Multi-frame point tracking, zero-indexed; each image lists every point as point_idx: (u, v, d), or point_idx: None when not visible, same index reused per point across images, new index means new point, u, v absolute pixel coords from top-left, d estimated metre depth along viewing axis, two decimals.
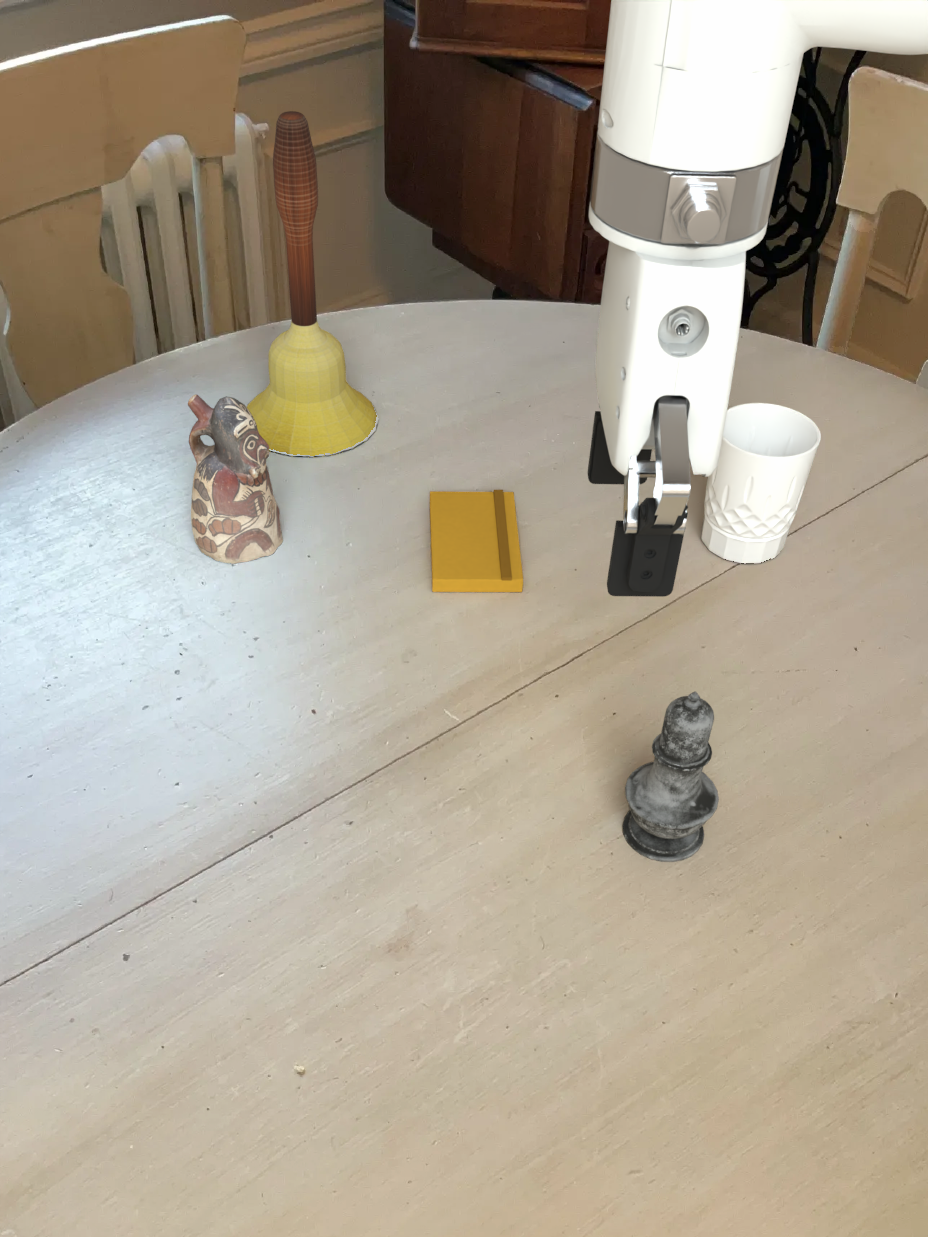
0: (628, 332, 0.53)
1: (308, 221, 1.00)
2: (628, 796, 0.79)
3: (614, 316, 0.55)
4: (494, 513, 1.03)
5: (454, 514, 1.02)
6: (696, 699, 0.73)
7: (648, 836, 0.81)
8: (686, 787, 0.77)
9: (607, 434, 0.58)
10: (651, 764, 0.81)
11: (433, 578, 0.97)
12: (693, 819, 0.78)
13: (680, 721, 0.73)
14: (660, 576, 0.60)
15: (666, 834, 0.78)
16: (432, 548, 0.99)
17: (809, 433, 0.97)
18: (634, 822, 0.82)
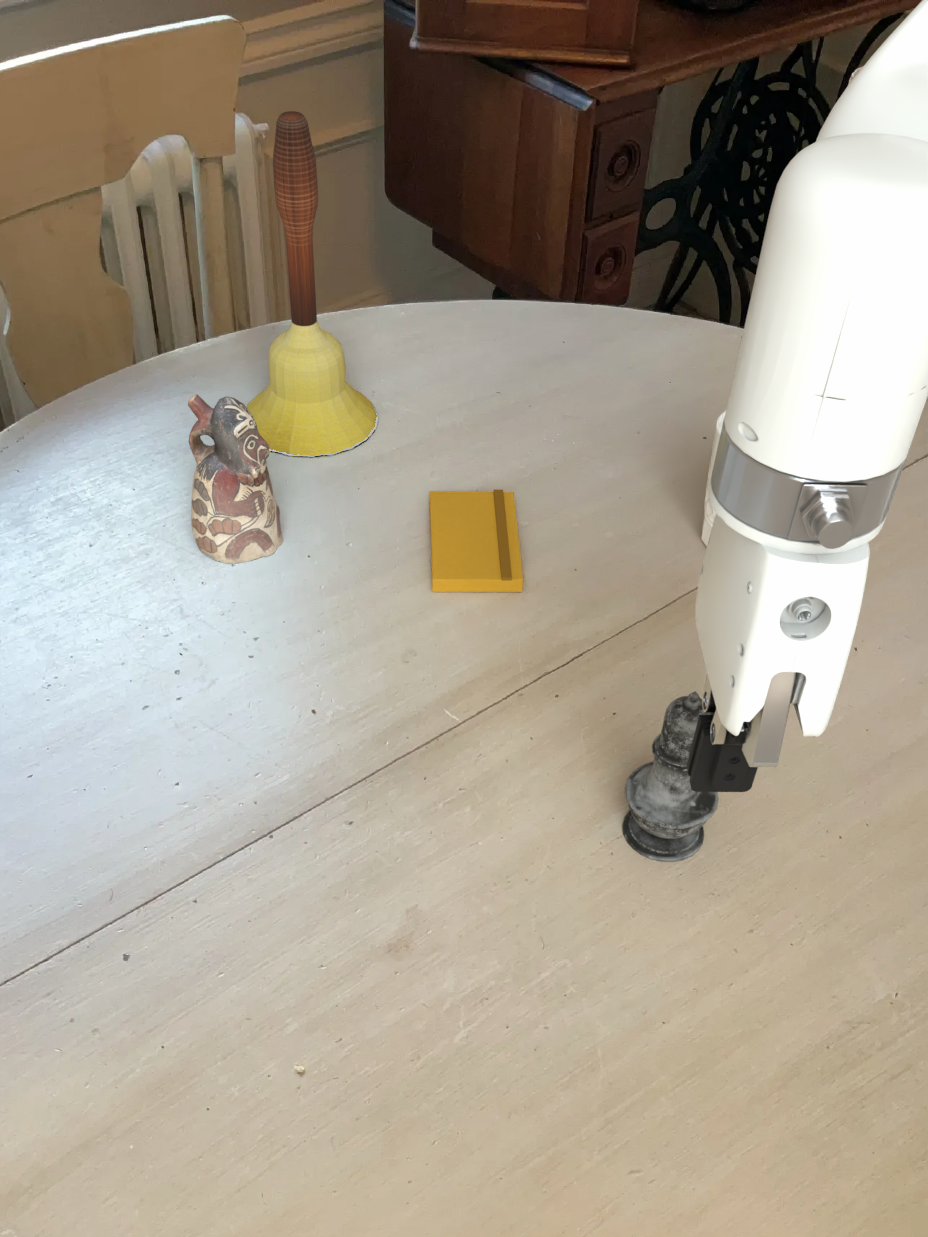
0: (749, 614, 0.53)
1: (308, 221, 1.00)
2: (628, 796, 0.79)
3: (731, 590, 0.55)
4: (494, 513, 1.03)
5: (454, 514, 1.02)
6: (696, 699, 0.73)
7: (648, 836, 0.81)
8: (686, 787, 0.77)
9: (715, 690, 0.59)
10: (651, 764, 0.81)
11: (433, 578, 0.97)
12: (693, 819, 0.78)
13: (680, 721, 0.73)
14: (742, 778, 0.64)
15: (666, 834, 0.78)
16: (432, 548, 0.99)
17: None
18: (634, 822, 0.82)
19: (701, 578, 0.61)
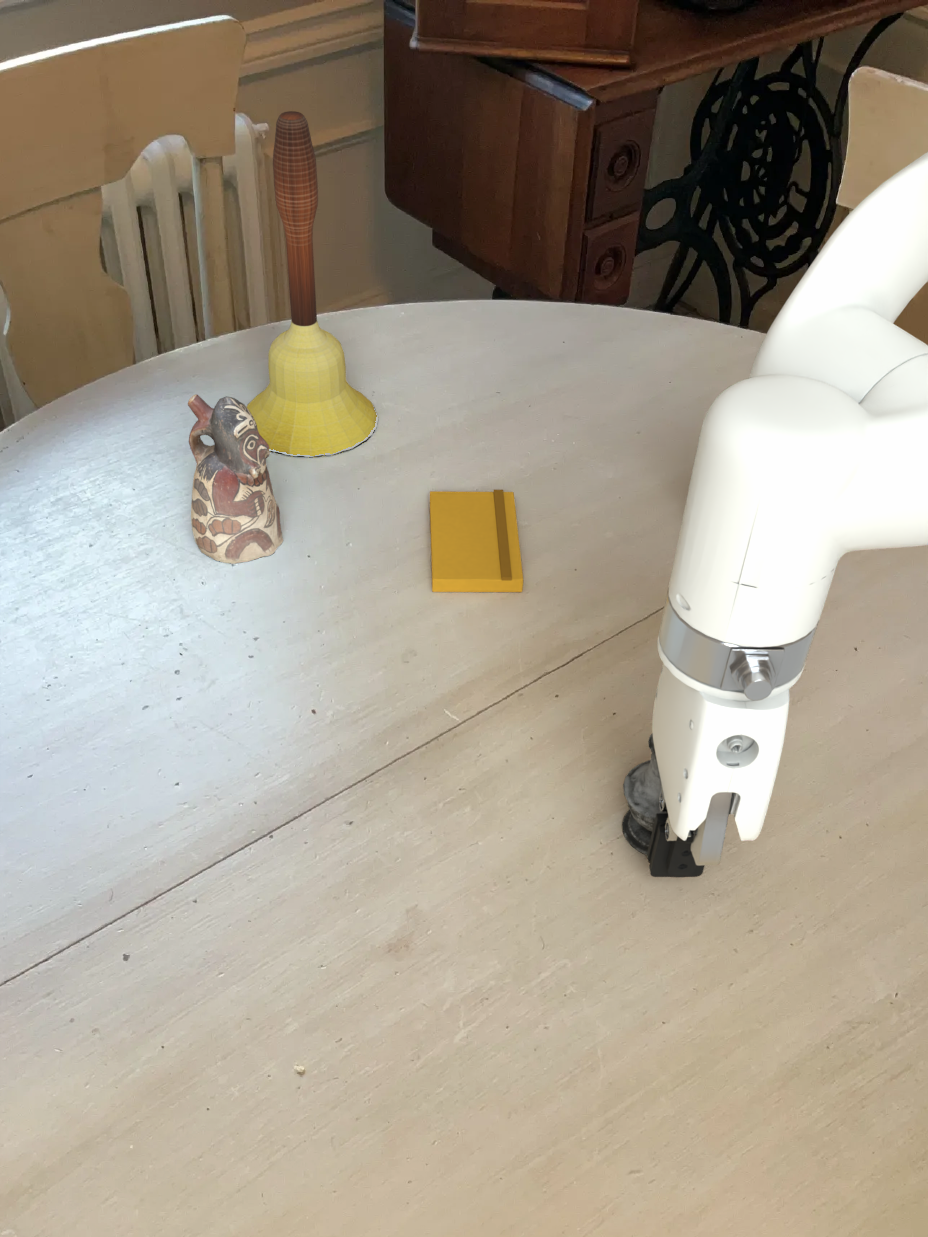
0: (691, 746, 0.64)
1: (308, 221, 1.00)
2: (626, 793, 0.79)
3: (677, 723, 0.66)
4: (494, 513, 1.03)
5: (454, 514, 1.02)
6: None
7: (648, 834, 0.81)
8: None
9: (667, 800, 0.70)
10: (649, 762, 0.81)
11: (433, 578, 0.97)
12: None
13: None
14: (694, 867, 0.75)
15: None
16: (432, 548, 0.99)
17: None
18: (634, 821, 0.82)
19: (656, 700, 0.72)
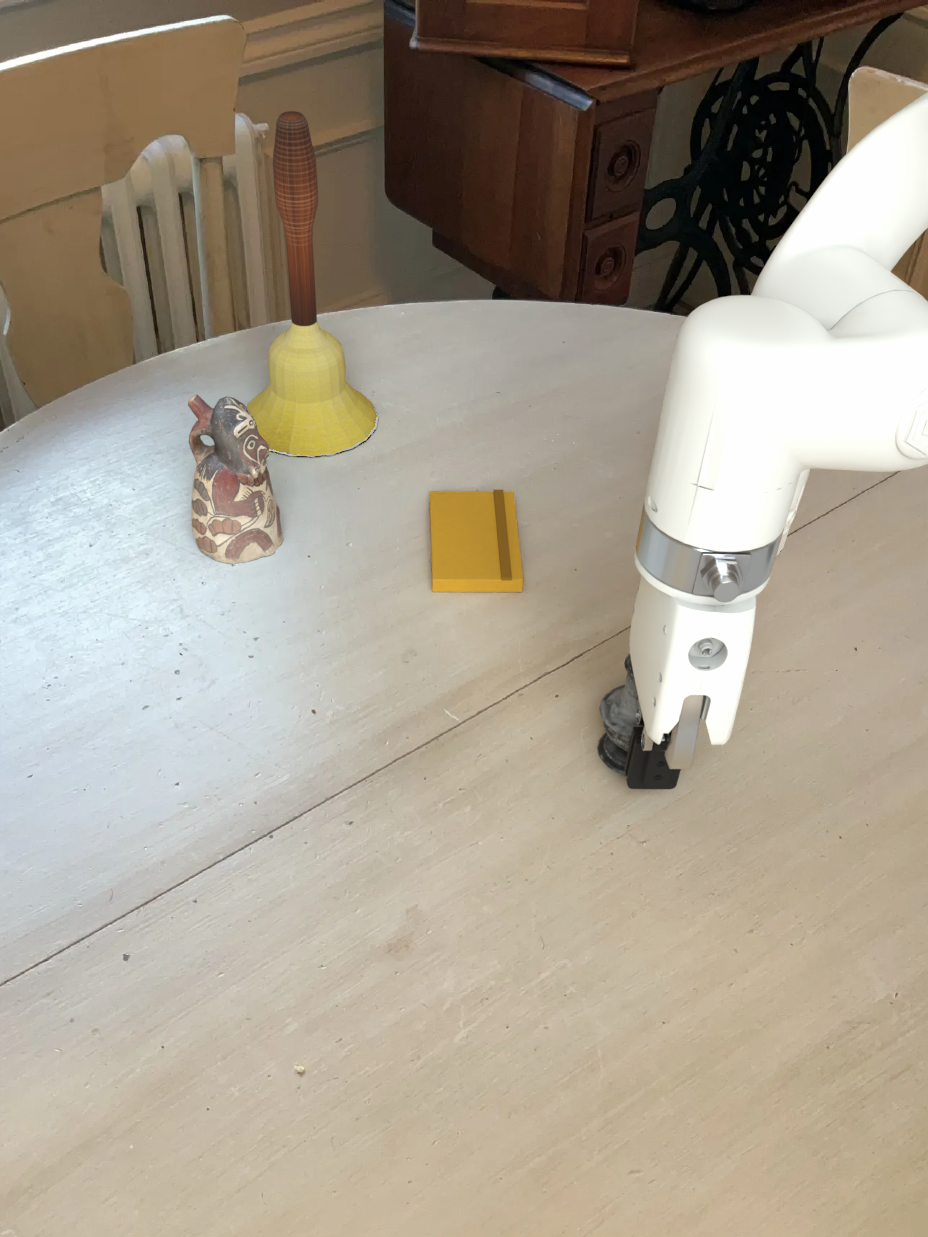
0: (665, 650, 0.69)
1: (308, 221, 1.00)
2: (603, 714, 0.83)
3: (652, 631, 0.70)
4: (494, 513, 1.03)
5: (454, 514, 1.02)
6: None
7: (623, 754, 0.85)
8: None
9: (643, 708, 0.74)
10: (622, 687, 0.85)
11: (433, 578, 0.97)
12: None
13: None
14: (668, 778, 0.80)
15: None
16: (432, 548, 0.99)
17: None
18: (609, 743, 0.86)
19: (633, 618, 0.77)
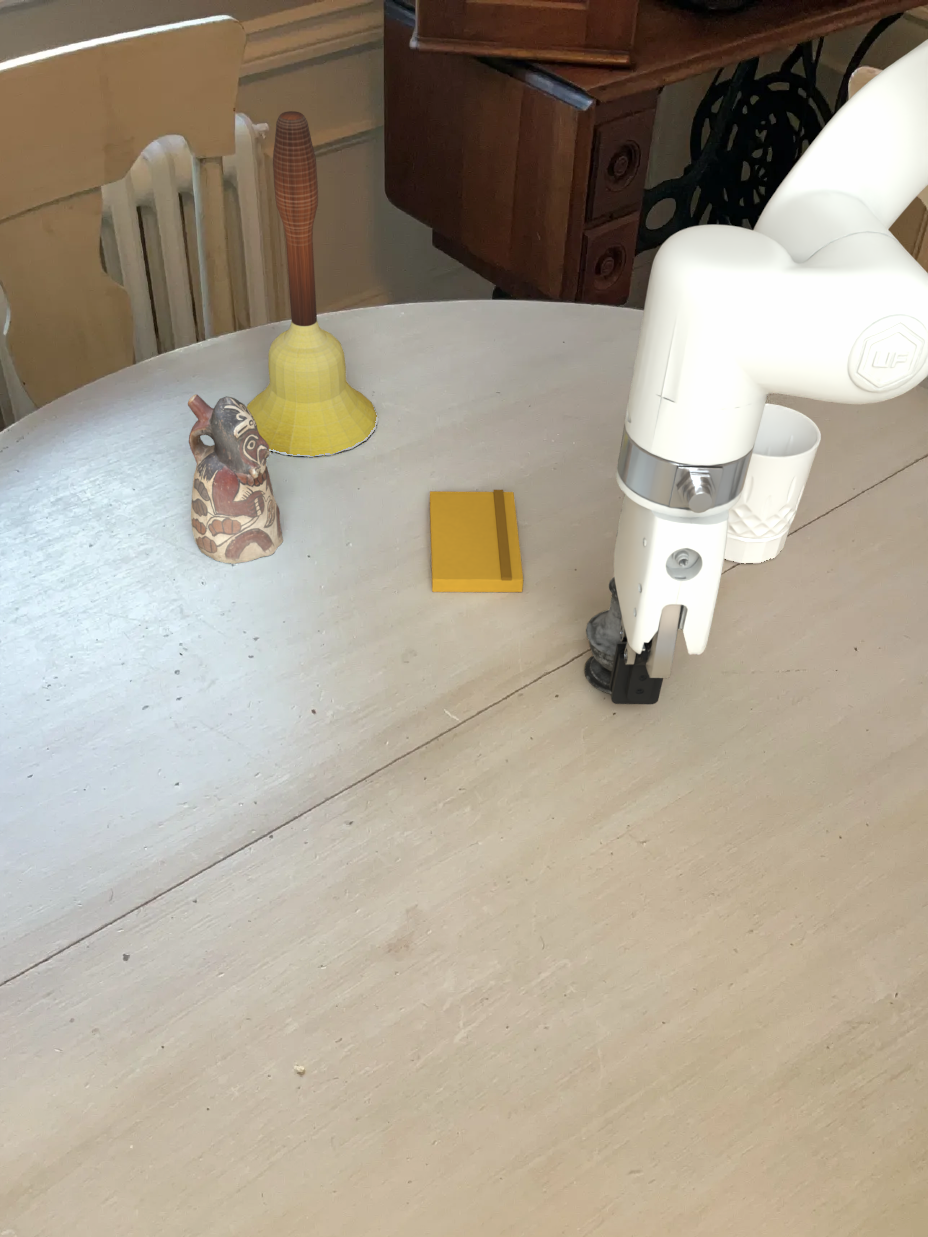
0: (644, 561, 0.74)
1: (308, 221, 1.00)
2: (589, 636, 0.89)
3: (633, 545, 0.76)
4: (494, 513, 1.03)
5: (454, 514, 1.02)
6: None
7: (608, 675, 0.91)
8: None
9: (625, 621, 0.80)
10: (608, 611, 0.91)
11: (433, 578, 0.97)
12: None
13: None
14: (650, 692, 0.85)
15: None
16: (432, 548, 0.99)
17: (809, 433, 0.97)
18: (595, 665, 0.91)
19: (616, 539, 0.82)
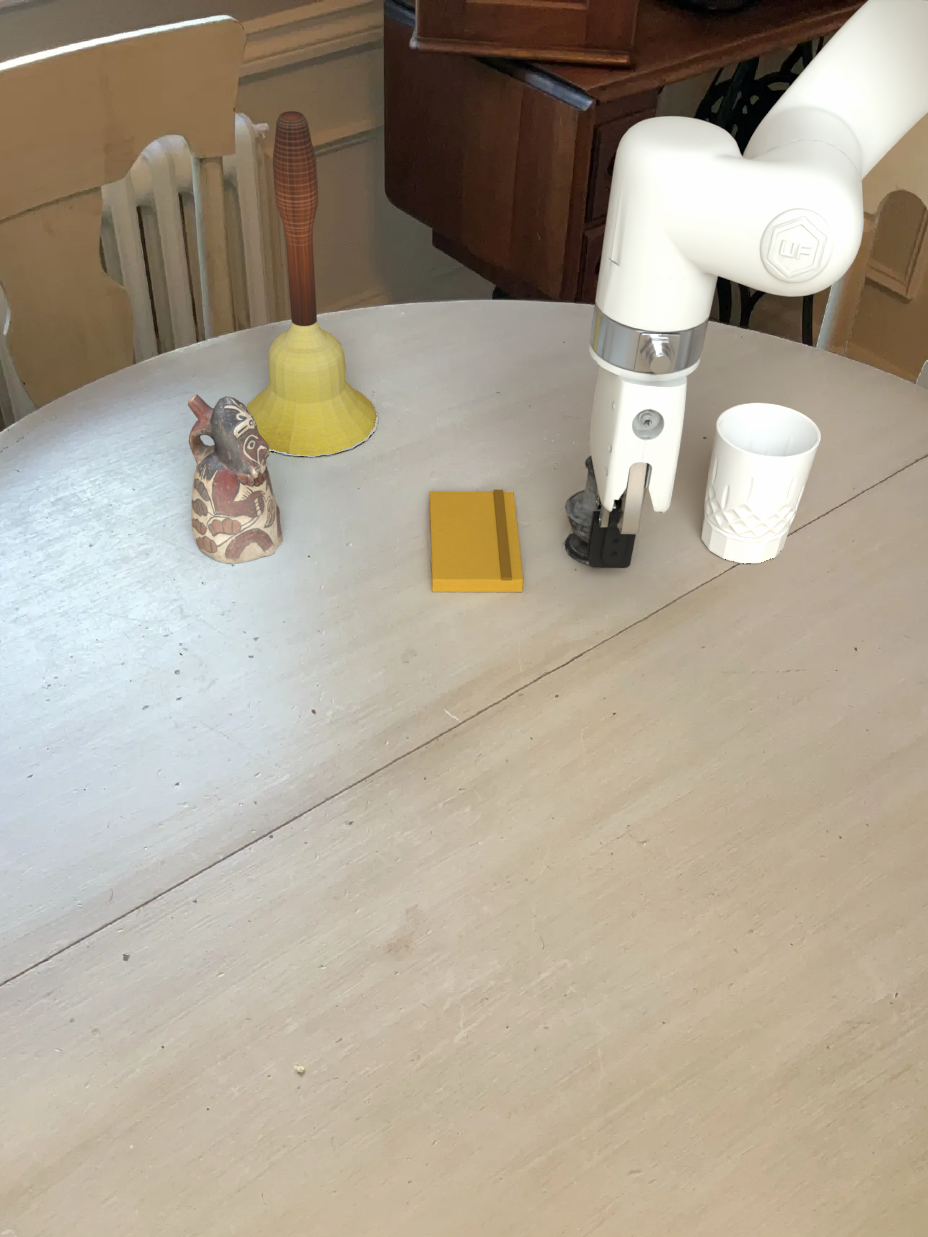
0: (613, 423, 0.84)
1: (308, 221, 1.00)
2: (568, 510, 0.99)
3: (604, 411, 0.86)
4: (494, 513, 1.03)
5: (454, 514, 1.02)
6: None
7: (585, 548, 1.01)
8: None
9: (598, 484, 0.90)
10: None
11: (433, 578, 0.97)
12: None
13: None
14: (622, 555, 0.95)
15: None
16: (432, 548, 0.99)
17: (809, 433, 0.97)
18: (574, 540, 1.02)
19: (592, 414, 0.92)
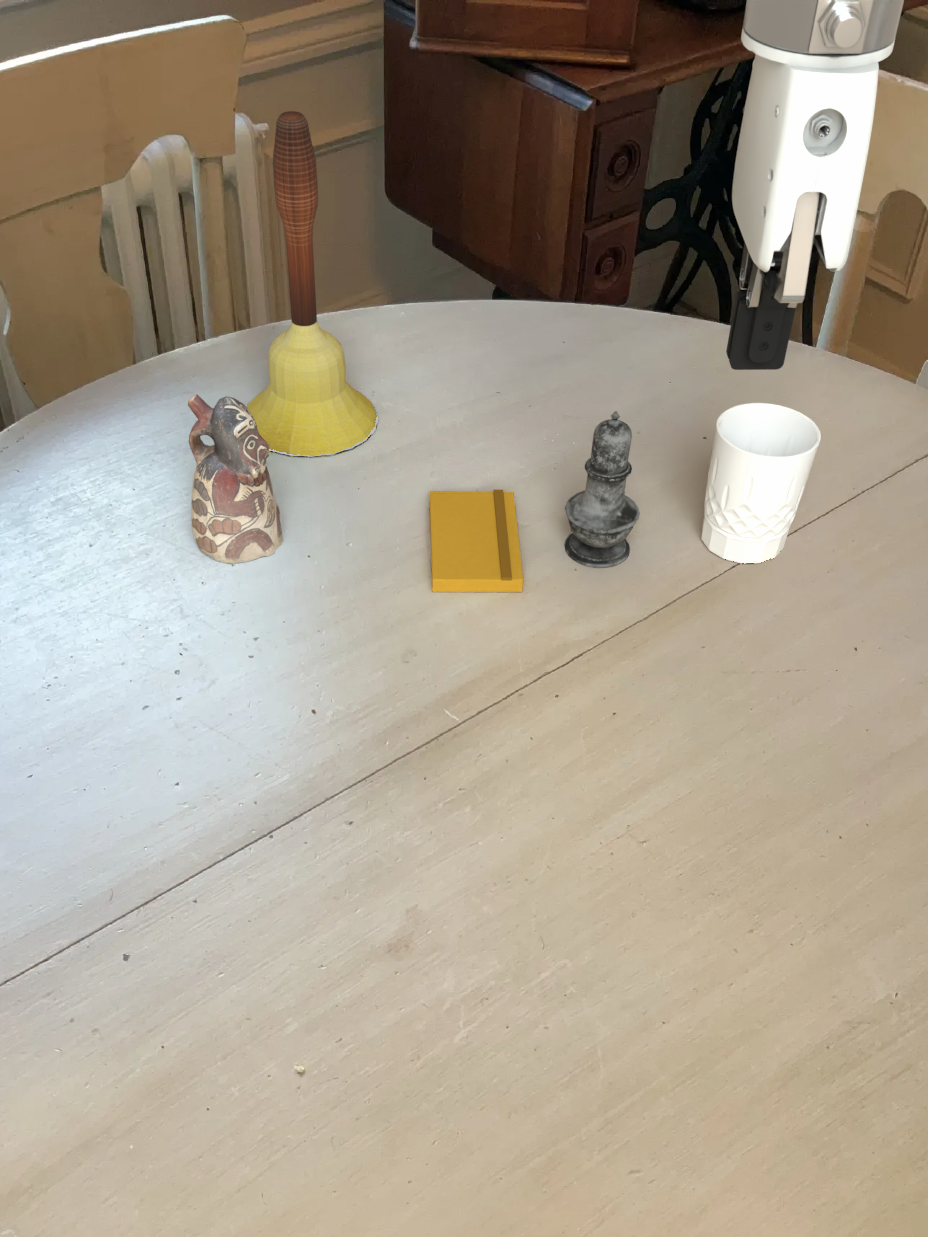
0: (777, 136, 0.63)
1: (308, 221, 1.00)
2: (568, 512, 0.99)
3: (761, 128, 0.65)
4: (494, 513, 1.03)
5: (454, 514, 1.02)
6: (617, 417, 0.93)
7: (585, 549, 1.01)
8: (613, 498, 0.97)
9: (750, 239, 0.69)
10: None
11: (433, 578, 0.97)
12: (620, 526, 0.98)
13: (605, 435, 0.93)
14: (775, 348, 0.74)
15: (599, 540, 0.98)
16: (432, 548, 0.99)
17: (809, 433, 0.97)
18: (574, 541, 1.02)
19: (736, 158, 0.71)
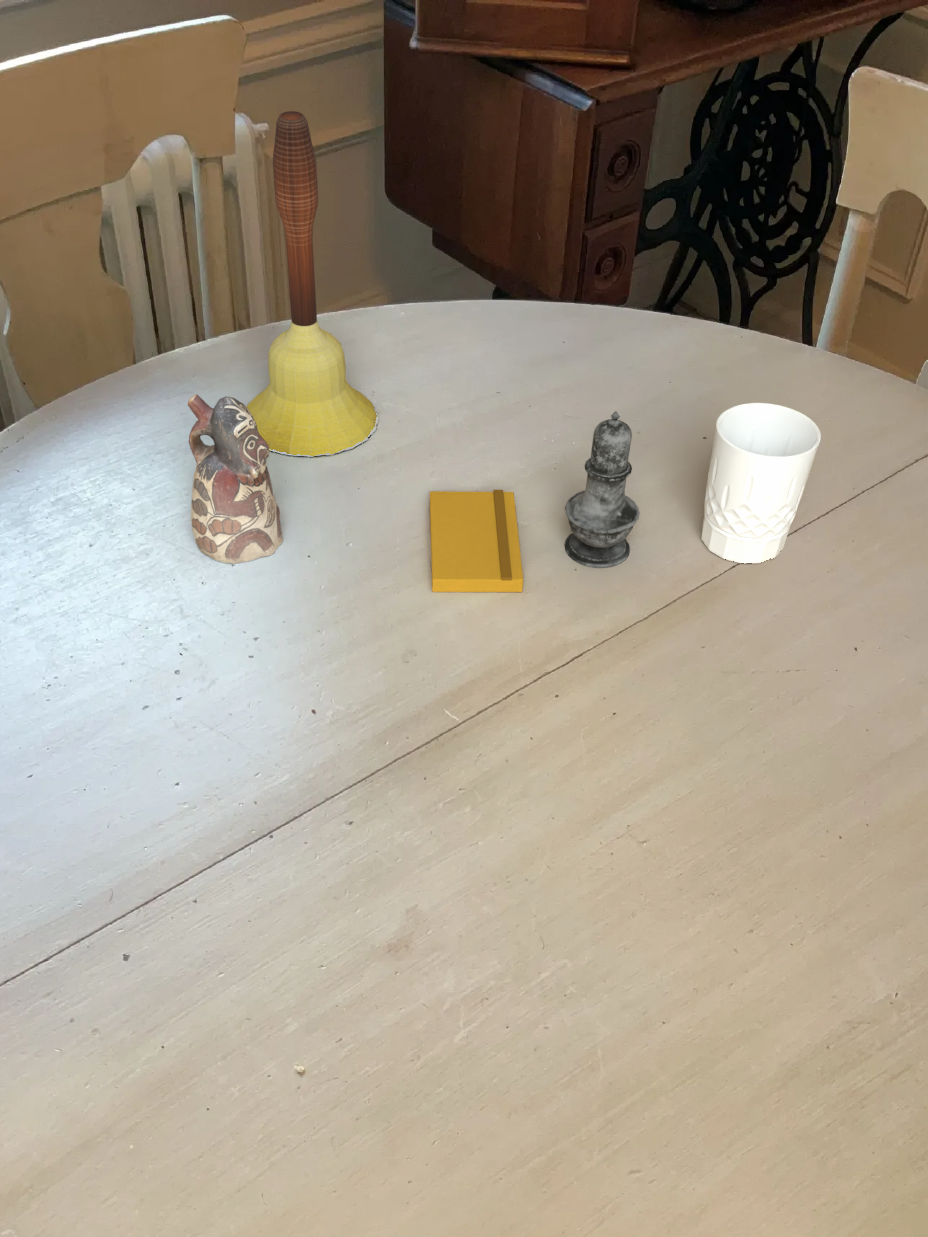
0: None
1: (308, 221, 1.00)
2: (568, 512, 0.99)
3: None
4: (494, 513, 1.03)
5: (454, 514, 1.02)
6: (617, 417, 0.93)
7: (585, 549, 1.01)
8: (613, 498, 0.97)
9: None
10: None
11: (433, 578, 0.97)
12: (620, 526, 0.98)
13: (605, 435, 0.93)
14: None
15: (599, 540, 0.98)
16: (432, 548, 0.99)
17: (809, 433, 0.97)
18: (574, 541, 1.02)
19: None
